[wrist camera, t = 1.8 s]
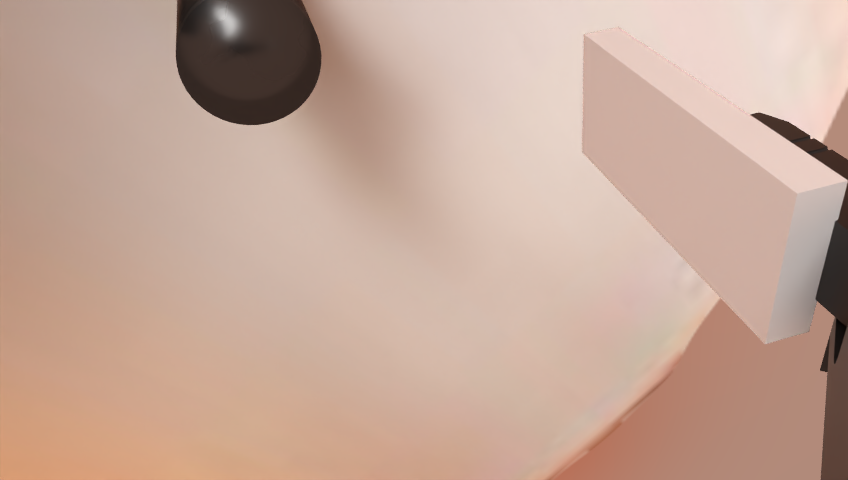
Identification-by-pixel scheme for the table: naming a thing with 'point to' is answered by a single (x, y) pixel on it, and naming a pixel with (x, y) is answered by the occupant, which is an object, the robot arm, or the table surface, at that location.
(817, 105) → the table surface
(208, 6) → the lever
